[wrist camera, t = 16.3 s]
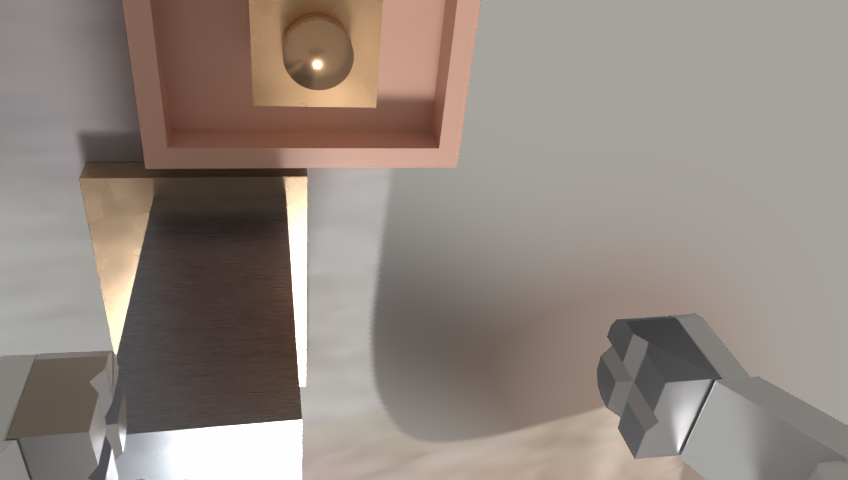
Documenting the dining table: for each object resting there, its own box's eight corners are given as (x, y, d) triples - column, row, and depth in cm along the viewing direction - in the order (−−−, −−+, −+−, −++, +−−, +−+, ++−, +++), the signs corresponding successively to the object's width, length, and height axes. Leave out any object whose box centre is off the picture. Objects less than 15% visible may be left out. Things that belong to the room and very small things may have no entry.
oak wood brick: (357, 53, 31) (379, 118, 25) (253, 49, 30) (253, 117, 24) (362, -54, 28) (388, -8, 23) (249, -62, 27) (247, -15, 22)
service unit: (304, 367, 42) (325, 627, 29) (127, 379, 40) (68, 665, 27) (305, 161, 34) (334, 395, 22) (85, 162, 32) (-24, 422, 19)
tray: (445, 143, 35) (457, 167, 33) (152, 143, 32) (145, 168, 30) (487, -177, 27) (505, -172, 25) (105, -219, 24) (91, -217, 22)
